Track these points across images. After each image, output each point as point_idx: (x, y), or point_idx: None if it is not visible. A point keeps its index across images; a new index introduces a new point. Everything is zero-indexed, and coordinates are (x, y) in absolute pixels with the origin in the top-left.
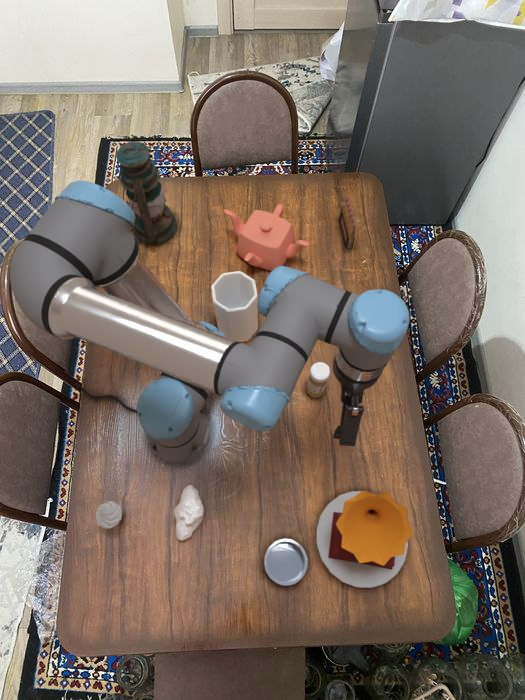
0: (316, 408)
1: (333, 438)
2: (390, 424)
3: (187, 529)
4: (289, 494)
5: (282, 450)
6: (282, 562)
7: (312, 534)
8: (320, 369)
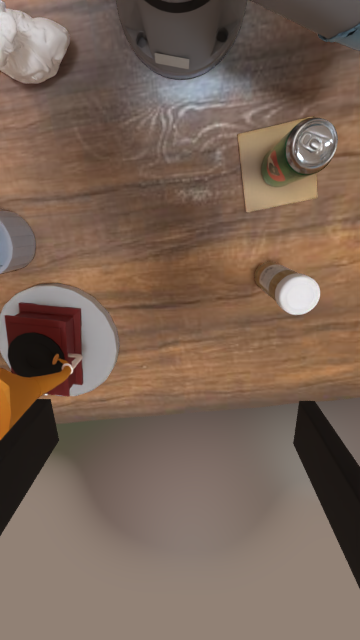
0: (236, 278)
1: (34, 402)
2: (214, 379)
3: None
4: (99, 242)
5: (165, 226)
6: (4, 237)
7: (52, 278)
8: (302, 296)
